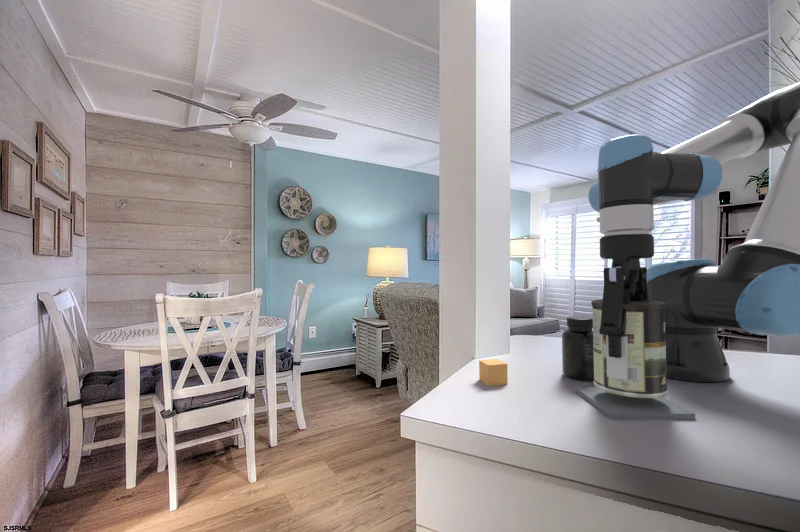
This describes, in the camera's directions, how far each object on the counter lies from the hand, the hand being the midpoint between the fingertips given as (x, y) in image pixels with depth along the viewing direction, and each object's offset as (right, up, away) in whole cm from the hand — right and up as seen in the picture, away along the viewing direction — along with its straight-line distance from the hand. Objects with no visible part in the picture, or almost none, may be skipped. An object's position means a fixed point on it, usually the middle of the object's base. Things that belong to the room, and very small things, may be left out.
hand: (628, 370), depth 59 cm
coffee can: (0, -3, 0) cm, 3 cm away
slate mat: (0, -5, 0) cm, 5 cm away
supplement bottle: (0, -6, +15) cm, 16 cm away
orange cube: (-19, -6, +13) cm, 23 cm away
